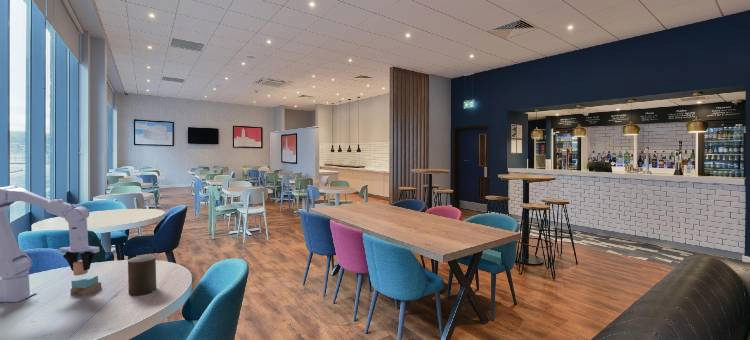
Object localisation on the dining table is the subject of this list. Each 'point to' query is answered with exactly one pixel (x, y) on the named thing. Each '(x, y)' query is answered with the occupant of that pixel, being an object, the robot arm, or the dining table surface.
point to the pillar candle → (141, 275)
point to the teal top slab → (84, 281)
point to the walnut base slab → (86, 289)
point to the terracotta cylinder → (78, 268)
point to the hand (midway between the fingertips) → (80, 269)
